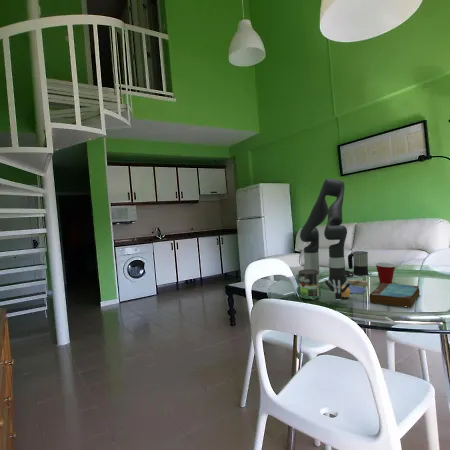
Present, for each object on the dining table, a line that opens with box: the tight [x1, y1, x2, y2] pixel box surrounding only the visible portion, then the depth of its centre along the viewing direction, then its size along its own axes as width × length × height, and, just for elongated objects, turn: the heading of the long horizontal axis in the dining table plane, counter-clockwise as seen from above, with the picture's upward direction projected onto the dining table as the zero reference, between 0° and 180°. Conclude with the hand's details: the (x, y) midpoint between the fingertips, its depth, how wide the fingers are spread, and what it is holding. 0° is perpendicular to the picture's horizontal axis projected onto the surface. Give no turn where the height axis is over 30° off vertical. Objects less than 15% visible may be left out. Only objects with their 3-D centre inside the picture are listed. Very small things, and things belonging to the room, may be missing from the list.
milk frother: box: [345, 250, 369, 277], centre depth 212 cm, size 14×16×15 cm
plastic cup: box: [375, 262, 397, 285], centre depth 186 cm, size 11×11×12 cm
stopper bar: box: [347, 279, 368, 287], centre depth 189 cm, size 10×2×2 cm, turn 53°
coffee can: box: [298, 269, 320, 297], centre depth 173 cm, size 10×10×14 cm
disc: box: [348, 285, 367, 295], centre depth 181 cm, size 14×14×1 cm
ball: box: [342, 285, 351, 298], centre depth 168 cm, size 6×6×6 cm
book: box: [369, 283, 421, 308], centre depth 161 cm, size 23×18×5 cm
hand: (338, 299), depth 162 cm, fingers closed
